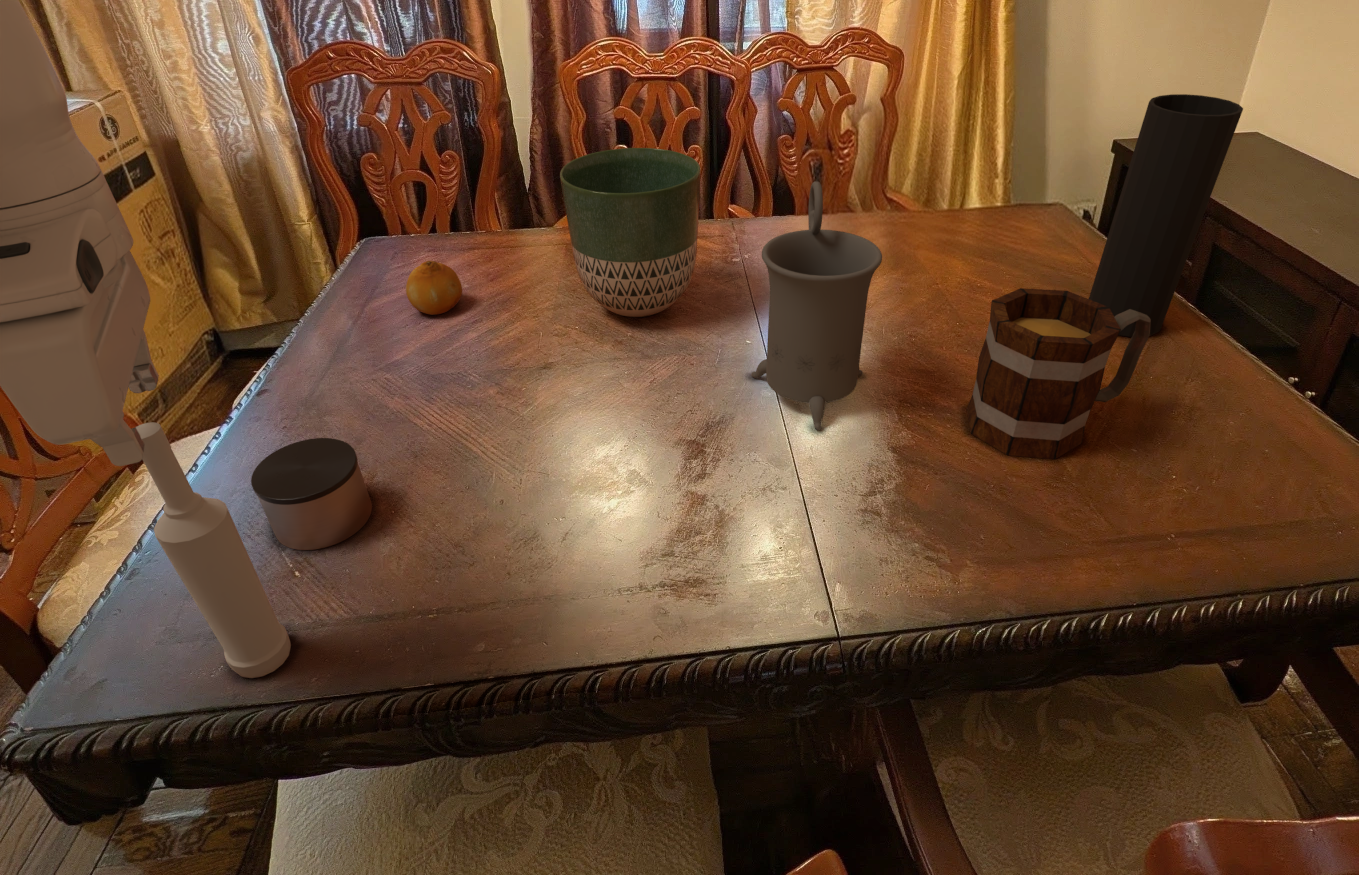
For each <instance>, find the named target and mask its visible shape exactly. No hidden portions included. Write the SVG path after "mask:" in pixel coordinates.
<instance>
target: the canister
mask: <svg viewBox="0 0 1359 875" xmlns="http://www.w3.org/2000/svg"><path fill="white" fill-rule="evenodd" d="M358 460H359V459H358V456H357V453H356V451H355V449H354V448H353V446H352V445H351V444H349V443H348V442H346V441H344V440H341V439H337V438H331V437H314V438H308V439H303V440H300V441H296V442H292V443H290V444H288V445H285V446H282V447H281V448H279V449H277V450H275V451H273V452H271V453H270V454H269V455H267V456H266V457H264V458H263V459H262V460H261V461H260V462H259V463H258V464H257V466H256V467H255V468H254V470H253V472H252V475H251V479H250V484H251V487H252V490H253V492H254V494H255V495H256V496H257V498H258V500H259V502H260V506H261V508H262V509H263V512H264V514H265V516H266V519H267V520H268V523H269V525H270V527H271V530H272V531H273V534H274V536H275V539H276V540H277V541H278V542H279V543H280V544H281V545H283V546H284V547H287V548H289V549H292V550H298V551H314V550H321V549H324V548H328V547H331V546H334V545H337V544H340V543H341V542H343V541H346V540H348V539H350V538H351V537H352V536H353V535H355V534H356V533H358V532H359V531H360V530H361V529H362V528H363V527H364V526H365V525H366V524H367V522H368V521H369V519H370V516H371V514H372V511H373V504H372V501H371V498H370V495H369V492H368V490H367V486H366V483H365V479H364V477H363V473H362V471H361V468H360V465H359V461H358Z"/></svg>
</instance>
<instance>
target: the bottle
mask: <svg viewBox="0 0 1359 875" xmlns="http://www.w3.org/2000/svg"><path fill="white" fill-rule="evenodd" d="M134 428H136V429H137V431H138V433H139V434H140V437H141V440H143V442H144V444H145V446H144V453H143V458H142V460H141V461H142V462H143V463H144V465H145V468H146V469H147V471H148V473H149V475H150V477H151V479H152V480H153V482H154V485H155V486H156V488H157V490H158V492H159V494H160V495H161V497H162V499H163V501H164V503H165V504H164V505H163V508H162V510H163V513H162V514H161V516H160V517H159V518H158V520H157V521H156V524H155V526H154V527H153V532H154V536H155V538H156V540H157V541H158V543H159V546H160V547H161V548H162V550H163V551H164V553H165V555H166V557H167V558H168V560H169V561H170V563H171V565H172V567H173V568H174V570H175V571H176V573H177V575H178V577H179V578H180V580H181V582H182V583H183V584H184V586H185V588H186V590H187V591H188V593H189V595H190V596H191V598H192V599H193V601H194V603H195V605H196V606H197V608H198V609H199V611H200V613H201V615H202V616H203V618H204V619H205V621H206V623H207V624H208V626H209V627H210V630H211V631H212V633H213V634H214V636H215V638H216V639H217V642H219V644H220V646H221V648H222V649H223V655H224V658H225V661H226V663H227V665H228V666H229V668H230V669H231V670H232V671H233V672H235V673H236V674H238V675H239V676H240V677H242V678H247V679H248V678H249V679H254V678H260V677H264V676H266V675H268V674H270V673H271V674H272V673H273V672H275V671H276V670H277V669H279V667H281V666H282V665H283V664H284V663H285V661H286V660H287V659H288V657H289V656H290V652H291V646H292V644H291V639H290V637H289V634H288V631H287V629H286V627H285V626H284V625H283V624H281V623H280V622H279V621H278V620H279V619H278V617H277V616H276V614H275V611H274V609H273V606H272V604H271V602H270V600H269V598H268V596H267V594H266V591H265V589H264V587H263V584H262V582H261V580H260V577H259V575H258V573H257V570H256V569H255V567H254V564H253V561H252V560H251V558H250V556H249V553H248V551H247V549H246V546H245V544H244V542H243V540H242V538H241V534H240V532H239V531H238V529H237V526H236V524H235V522H234V519H233V517H232V515H231V513H230V511H229V509H228V506H227V503H226V502H224V501H222V500H220V499H219V498H214V497H204V496H202V494H200V493H199V492H195V491H194V490H193V488H192V485H191V484H190V482H189V480H188V478H187V477H186V475H185V472H184V471H183V469H182V466H181V465H180V463H179V460H178V459H177V456H176V455H175V453H174V451H173V449H172V445H171V443H170V440H169V439H168V437H167V435H166V433H165V431H164V429H163V427H162V425H161V424H160V423H158V422H154V421H153V422H152V421H150V422H145V423H142V424H139V425H136V426H135V427H134Z"/></svg>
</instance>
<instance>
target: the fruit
mask: <svg viewBox="0 0 1359 875" xmlns="http://www.w3.org/2000/svg"><path fill="white" fill-rule="evenodd" d="M405 286H406V287H405V293H406V297H407V300H408V302H409V304H411V306H412V307H413V308H414V309H416V311H419V312H421V313H423V314H426V315H435V316H437V315H442V314H444V313H447V312H448V311H450V310H451V309H453V308H454V307H455V306H456V305H457V304H458V303H459V301H460V300H461V298H462V295H463V285H462V283H461V280H460V278H459V276H458V274H457V272H456V271H455V270H454V269H452V267H450V266H448V265H447V264H445V263H442V262H438V261H435V260H426V261H423V262H421V264H420V265H418V266H417V267H415V268H413V270H412V271H411V272H410V273H409V275H408V278H407V280H406V285H405Z"/></svg>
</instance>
